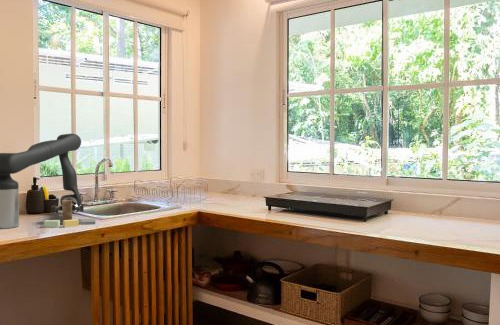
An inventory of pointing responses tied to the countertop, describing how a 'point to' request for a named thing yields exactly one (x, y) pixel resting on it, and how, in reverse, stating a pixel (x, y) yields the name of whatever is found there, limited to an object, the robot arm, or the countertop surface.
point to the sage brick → (51, 223)
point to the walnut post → (66, 210)
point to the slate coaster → (86, 221)
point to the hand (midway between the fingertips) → (66, 210)
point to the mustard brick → (71, 223)
